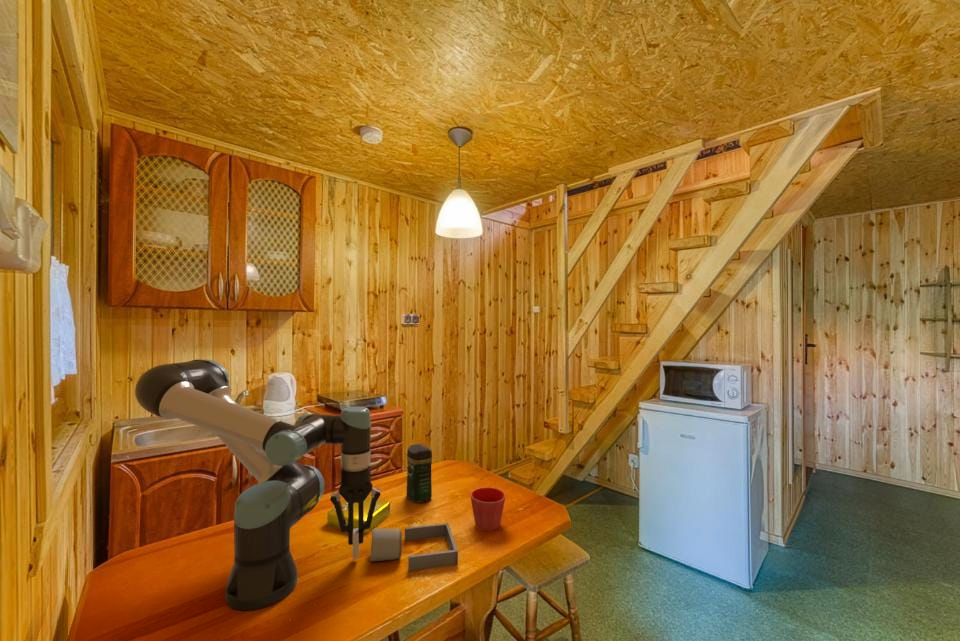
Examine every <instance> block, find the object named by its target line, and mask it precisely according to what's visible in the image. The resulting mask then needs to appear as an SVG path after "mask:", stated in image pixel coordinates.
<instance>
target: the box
mask: <svg viewBox="0 0 960 641" xmlns="http://www.w3.org/2000/svg"><path fill="white" fill-rule="evenodd" d="M444 537H446V541H447V544H448V548H449V550H446V551H445V550H443V551H436V552H428V553H422V554H412V555H411V554H410V555H407V556H408V558H407V559H408V562H407V563H408V564H407V567H408V572H413V571H420V570H428V569H435V568H442V567H443V568H444V567H450V566H458V565H459V560H458V559H459V551H458V547H457V545H456V541H455V539H454V535H453V532H452V530H451V527H450V523H448V522H445V523H437V524H428V525H419V526H409V527H404V541H405V542H411V541H417V540H429V539H436V538H444Z"/></svg>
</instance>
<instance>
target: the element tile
mask: <svg viewBox="0 0 960 641" xmlns="http://www.w3.org/2000/svg"><path fill="white" fill-rule="evenodd" d="M371 499H372V497H371V496H367V498H366V499H365V500H364V523H365V522H366V520H367V516H368V512H369V508H370V503H371ZM341 506H342V510H343V513H344V517H345V521H346V524H347V525H348V502H346V500H345V499H344V500H343V501H342V502H341ZM326 515H327V516H326V519H327V520H326V525H327V527H329V528H332V529H337V530H341V529H340V525H339V521H338V517H337V514H336V510H335V506H334V507H332V508H331V509H329V510H328V511H327V514H326ZM390 515H391V501H389V500H386V499H380V498H378V500H377V501H376V505H375V510H374V514H373V518H372V522H371V526H370V528H369V529H365V530H364V535H365V534H368V533H370V532H372V531H373V529H375V528H376V527H377V526H378V525H379V524H381V523H382V522H383V521H385V519H387V518H388V517H389V516H390ZM353 525H354V526H353V529H356V528H358V503H354V519H353ZM375 526H376V527H375Z"/></svg>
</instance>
